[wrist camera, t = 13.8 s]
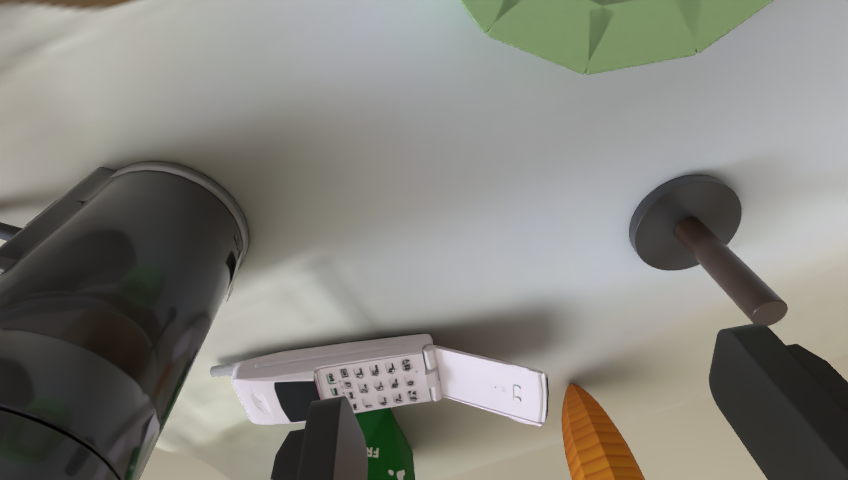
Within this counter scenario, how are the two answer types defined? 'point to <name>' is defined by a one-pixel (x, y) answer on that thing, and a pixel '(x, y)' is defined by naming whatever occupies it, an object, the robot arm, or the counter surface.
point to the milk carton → (385, 446)
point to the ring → (609, 28)
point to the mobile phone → (384, 380)
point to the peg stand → (701, 240)
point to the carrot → (594, 441)
